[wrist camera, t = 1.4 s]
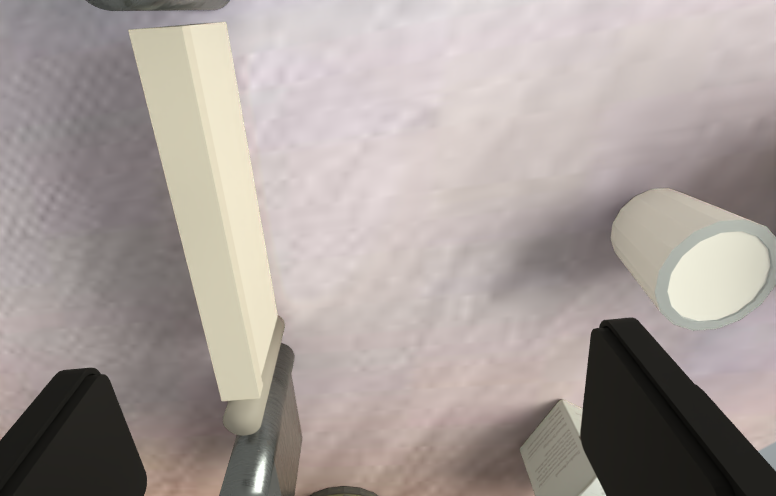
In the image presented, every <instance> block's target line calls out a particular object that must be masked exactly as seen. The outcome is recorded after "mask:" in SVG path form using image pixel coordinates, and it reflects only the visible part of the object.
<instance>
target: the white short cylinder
mask: <svg viewBox="0 0 776 496" xmlns="http://www.w3.org/2000/svg"><path fill="white" fill-rule="evenodd" d="M610 239H611V242H612V245H613V248H614V252H615V253H616V254H617V256H618V257H619V258H620V260H621V261H622V262H623V264H624V265H625V266H626V268H627V269H628V270H629V272H630V273H631V274H632V275H633V277H634V278H635V279H636V281H637V282H638V283H639V285H640V286H641V287H642V289H643V290H644V291H645V293H646V294H647V295H648V296H649V298H650V299H651V300H652V302H653V303H654V304H655V306H656V307H657V308H658V310H659V311H660V312H661V313H662V314H663V315H664V316H665V317H666V318H667V319H668V320H669V321H670V322H671V323H673V324H674V325H677V326H680V327H683V328H686V329H690V330H693V331H696V330H709V329H718V328H721V327H723V326H726V325H728V324H731V323H733V322H736V321H739V320H741V319H742V318H743V317H745V316H746V315H747V314H749V313H750V312H751V311H753V310H754V309H755V308H757V307H758V306H759V305H761V304H762V302H763V301H764V300H765V298H766V297H767V296H768V294H769V293H770V292H771V290H772V289H773V288H774V286H775V285H776V237H775V236H774V235H773V233H772V232H771V231H770V230H769V229H768V228H767V227H766V226H764V225H761V224H759V223H756V222H754V221H751V220H749V219H746V218H744V217H741V216H739V215H736V214H734V213H731V212H729V211H726V210H724V209H721V208H719V207H716V206H714V205H711V204H709V203H706V202H704V201H701V200H699V199H696V198H694V197H691V196H689V195H686V194H684V193H681V192H678V191H675V190H673V189H670V188H662V189H651V190H649V191H646V192H644V193H642V194H639V195H637V196H635V197H634V198H633V199H631V200H630V201H629V202H628V203H627V204H626V205H625V206H624V207H622V208H621V210H620V212H619V213H618V215H617V217H616V219H615V220H614V222H613V225H612V231H611V238H610Z"/></svg>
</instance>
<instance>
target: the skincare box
mask: <svg viewBox="0 0 776 496" xmlns="http://www.w3.org/2000/svg"><path fill="white" fill-rule="evenodd" d="M582 411H583V409H582V408H580V407H578V406H576V405H574V404H571V403H570V402H567V401H566V400H560V401H559V402H558V403H557V404H556V405H555V406H554V407H553V409H552V410H551V411H550V412H549V414H548V415H547V416H546V417H545V418H544V420H543V421H542V422H541V423H540V425H539V426H538V427H537V428H536V429H535V431H534V432H533V433H532V434H531V435H530V437H529V438H528V439H527V440H526V441H525V443H524V444H523V445H522V446H521V448H520V452H521V455H522V458H523V461H524V464H525V467H526V470H527V473H528V476H529V479H530V482H531V485H532V488H533V491H534V494H535V496H606V494H605V492H604V490H603V488H602V486H601V484H600V482H599V480H598V478H597V476H596V474H595V472H594V470H593V468H592V466H591V464H590V462H589V460H588V458H587V456H586V454H585V452H584V450H583V447H582V443H581V437H580V430H581V420H582Z"/></svg>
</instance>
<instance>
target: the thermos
mask: <svg viewBox="0 0 776 496" xmlns="http://www.w3.org/2000/svg"><path fill="white" fill-rule="evenodd" d="M311 496H378V495H376V494H375V493H373V492H370V491H367V490H365V489H362V488H357V487H347V486H341V487H333V488H327V489H324V490H321V491H319V492H316V493H313V494H312V495H311Z"/></svg>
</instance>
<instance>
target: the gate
mask: <svg viewBox="0 0 776 496" xmlns="http://www.w3.org/2000/svg"><path fill="white" fill-rule="evenodd" d="M128 31H129V35H130V39H131V43H132V47H133V51H134V55H135V59H136V63H137V67H138V71H139V75H140V79H141V83H142V87H143V91H144V95H145V99H146V103H147V107H148V111H149V115H150V119H151V123H152V127H153V130H154V134H155V138H156V142H157V146H158V150H159V154H160V158H161V162H162V166H163V170H164V174H165V178H166V182H167V186H168V190H169V194H170V198H171V202H172V206H173V210H174V214H175V218H176V222H177V226H178V230H179V234H180V238H181V242H182V246H183V250H184V254H185V257H186V261H187V265H188V269H189V273H190V277H191V281H192V285H193V289H194V293H195V297H196V301H197V305H198V309H199V313H200V317H201V321H202V325H203V329H204V333H205V337H206V341H207V345H208V349H209V353H210V357H211V361H212V365H213V369H214V373H215V377H216V381H217V384H218V388H219V392H220V396H221V400H222V401H228V404H227V407H226V410H225V413H224V416H223V424H224V426H225V427H226V429H227V430H228V431H230V432H231V433H233V434H236V435H242V436H245V435H251V434H253V433H255V432H257V431H258V430H259V428H260V427H261V423H262V419H263V415H264V411H265V407H266V403H267V399H268V394H269V390H270V386H271V382H272V378H273V374H274V370H275V365H276V361H277V357H278V353H279V349H280V345H281V341H282V336H283V332H284V328H285V324H284V321H283V319H282V318H281V317H280V316H278V315H277V309H276V304H275V298H274V292H273V287H272V281H271V275H270V269H269V264H268V258H267V252H266V247H265V241H264V235H263V230H262V224H261V218H260V213H259V207H258V201H257V195H256V190H255V184H254V178H253V173H252V167H251V161H250V156H249V150H248V144H247V139H246V133H245V127H244V121H243V116H242V110H241V104H240V99H239V93H238V87H237V82H236V76H235V70H234V65H233V59H232V53H231V47H230V42H229V36H228V30H227V25H226V22H219V23H203V24H190V25H179V26H167V27H156V28H145V29H132V30H128Z"/></svg>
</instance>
